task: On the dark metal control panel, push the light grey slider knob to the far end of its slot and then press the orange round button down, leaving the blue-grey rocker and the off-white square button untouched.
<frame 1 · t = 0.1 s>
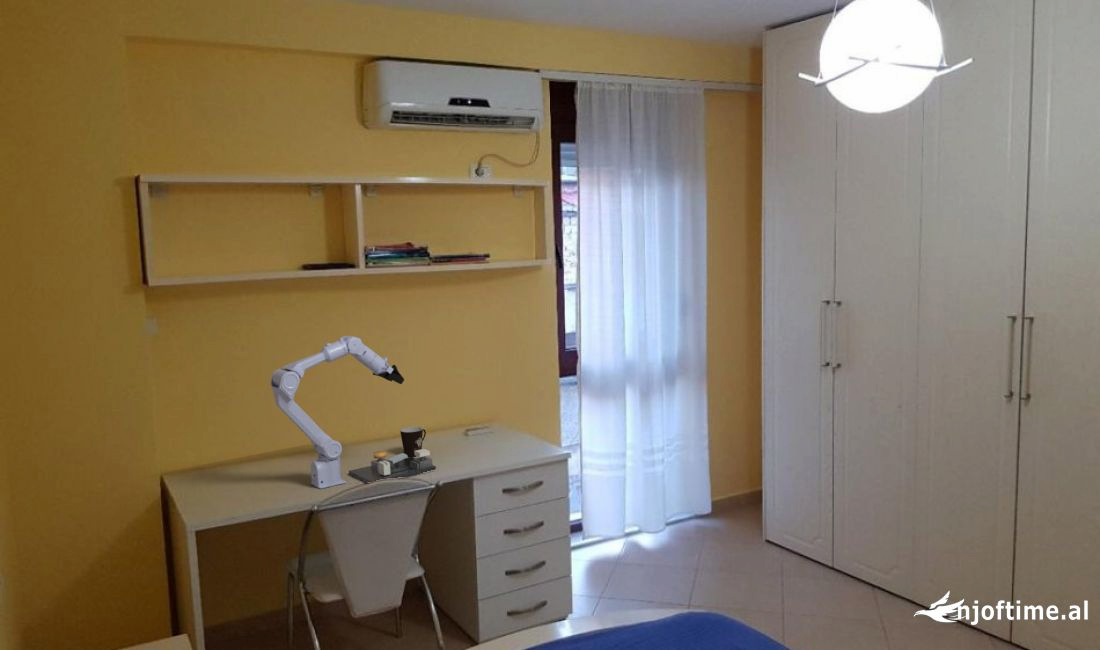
hand: (397, 380, 298), 32 cm above the table, tool tilted 50°, fingers open, 7 cm apart
rocker: (397, 458, 300), point 4 cm above the table, hinge at -12.0°
panel: (392, 472, 295), on the table
square button: (422, 456, 296), point 5 cm above the table, slide at 0.0 cm
slider knob: (384, 467, 287), point 4 cm above the table, slide at 0.0 cm
round button: (380, 457, 296), point 5 cm above the table, slide at 0.0 cm
coffee mug: (416, 454, 318), on the table
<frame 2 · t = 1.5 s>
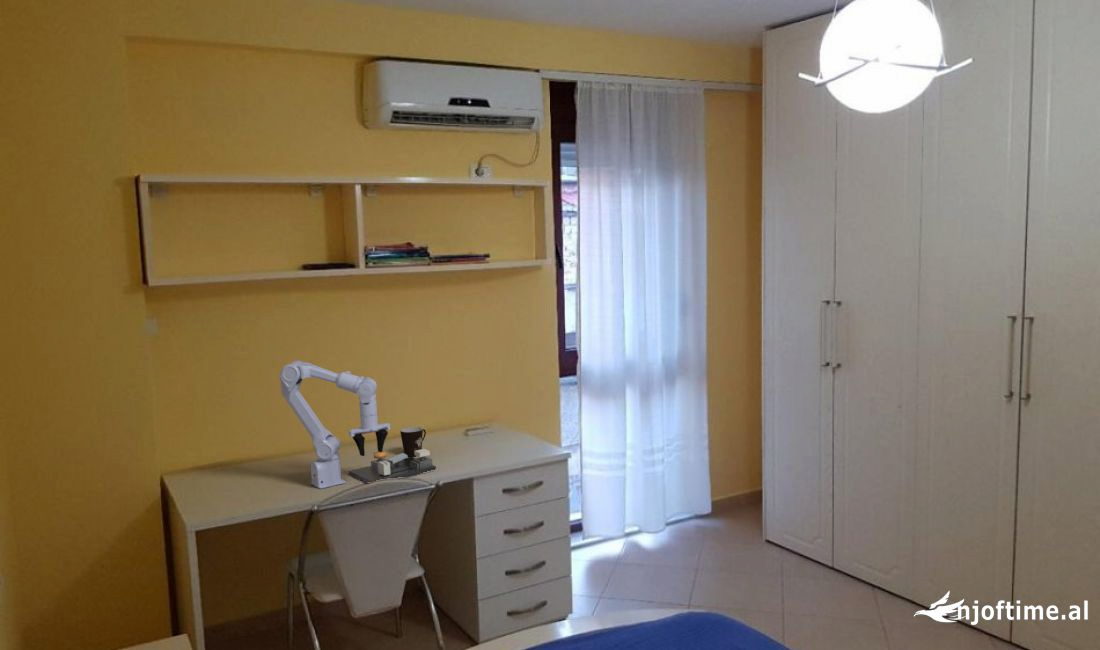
hand: (371, 453, 283), 10 cm above the table, tool pointing down, fingers open, 6 cm apart
nothing on the table moved.
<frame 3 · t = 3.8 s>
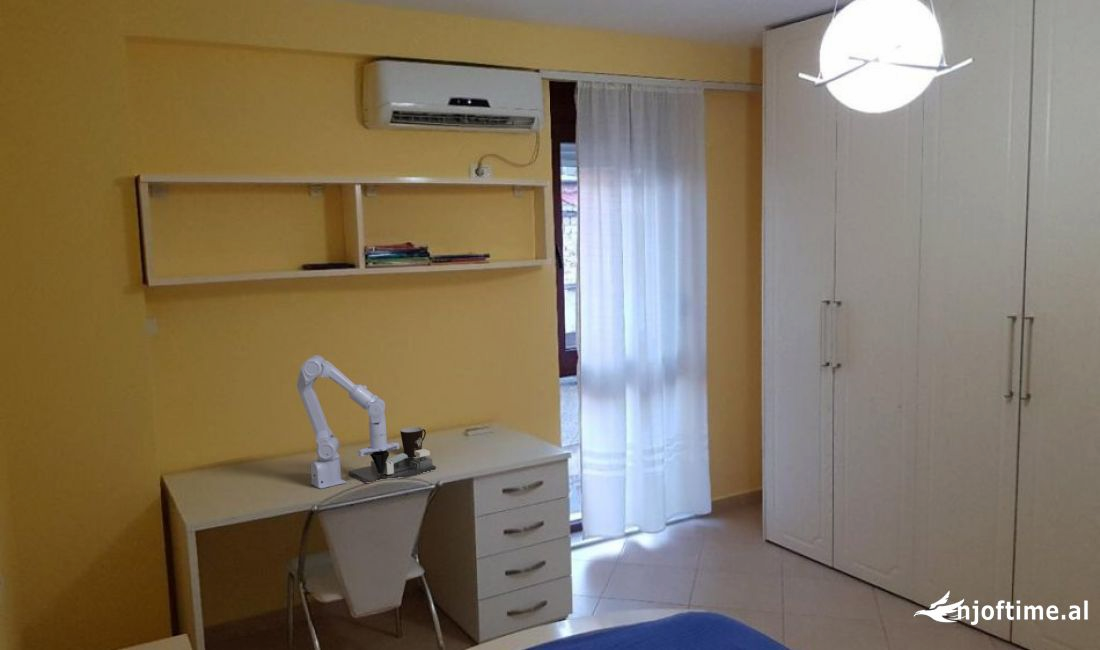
hand: (380, 472, 286), 3 cm above the table, tool pointing down, fingers closed
slider knob: (387, 467, 288), point 4 cm above the table, slide at 1.3 cm, touching gripper
everything else where it was.
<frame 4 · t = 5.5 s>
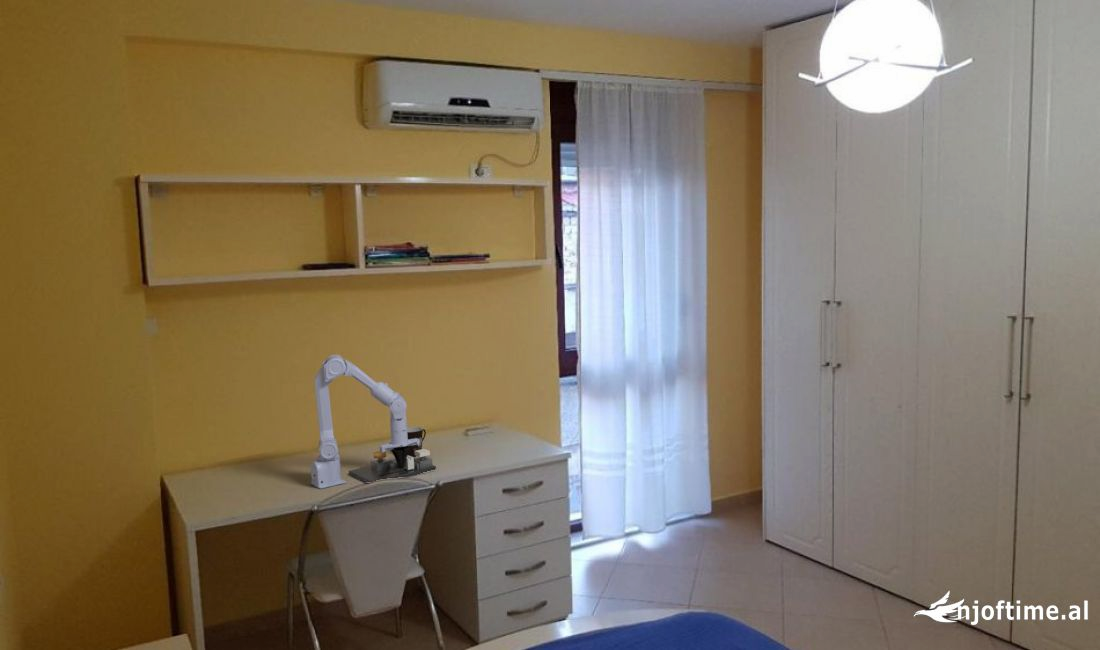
hand: (401, 468, 291), 3 cm above the table, tool pointing down, fingers closed
slider knob: (408, 462, 292), point 4 cm above the table, slide at 9.3 cm, touching gripper
everything else where it was.
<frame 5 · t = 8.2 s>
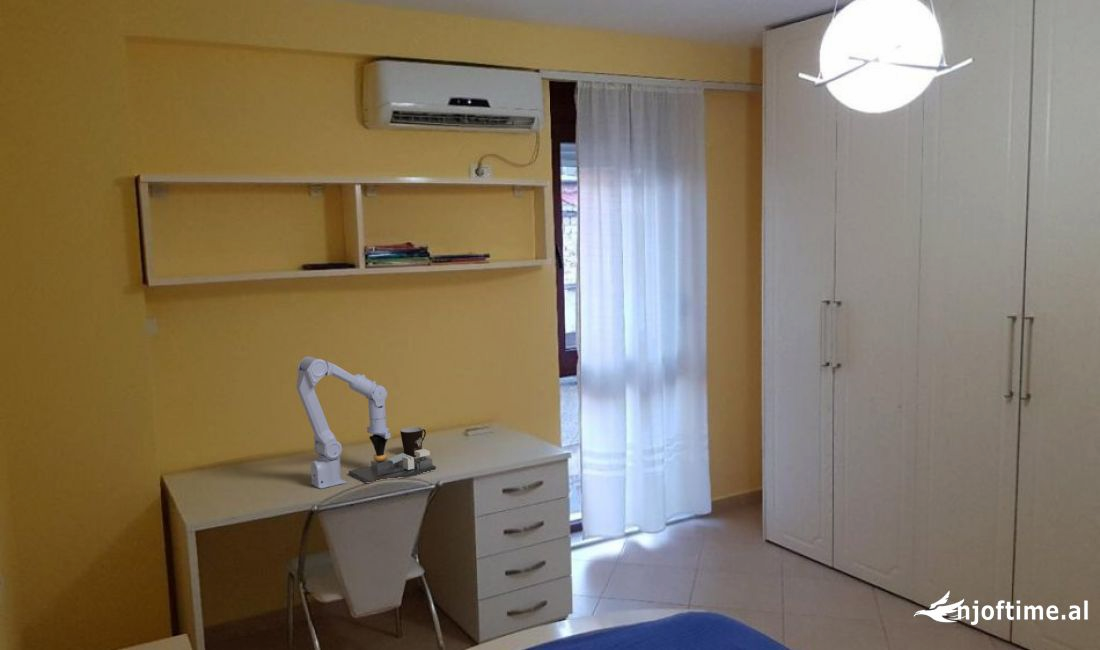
hand: (380, 455, 295), 6 cm above the table, tool pointing down, fingers closed, pressing on round button
slider knob: (408, 462, 292), point 4 cm above the table, slide at 9.3 cm
round button: (380, 460, 296), point 4 cm above the table, slide at 0.9 cm, touching gripper
everything else where it was.
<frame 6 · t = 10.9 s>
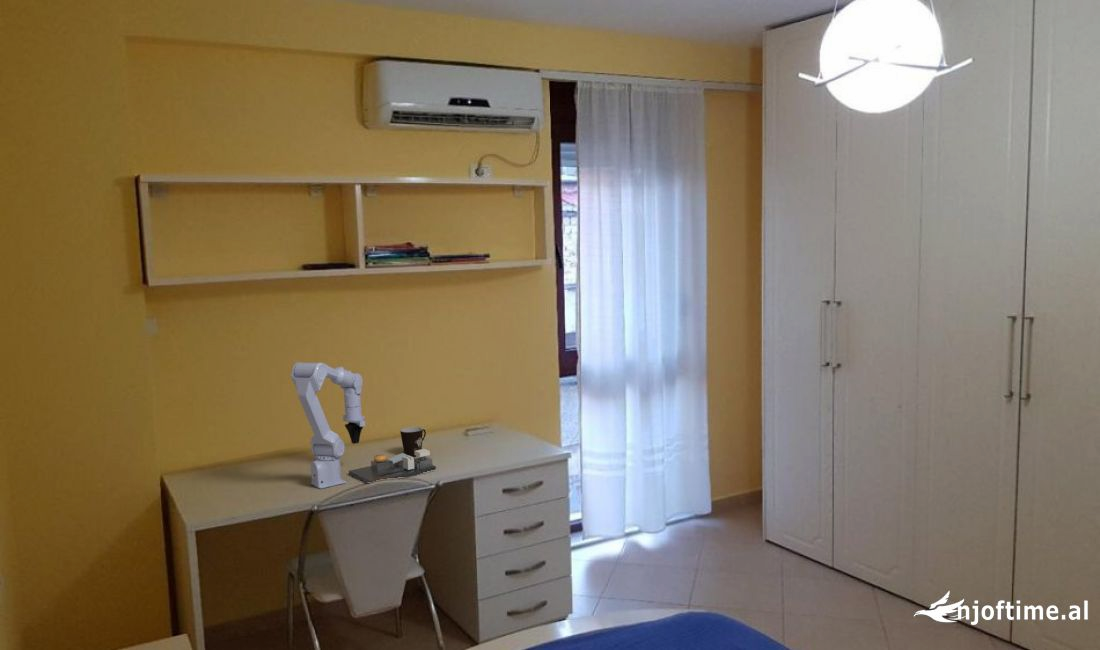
hand: (355, 443, 299), 10 cm above the table, tool pointing down, fingers closed
round button: (380, 461, 296), point 4 cm above the table, slide at 1.2 cm
everything else where it was.
at the end: slider knob slide at 9.3 cm; round button slide at 1.2 cm; rocker at -12° (first picture: -12°) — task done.
